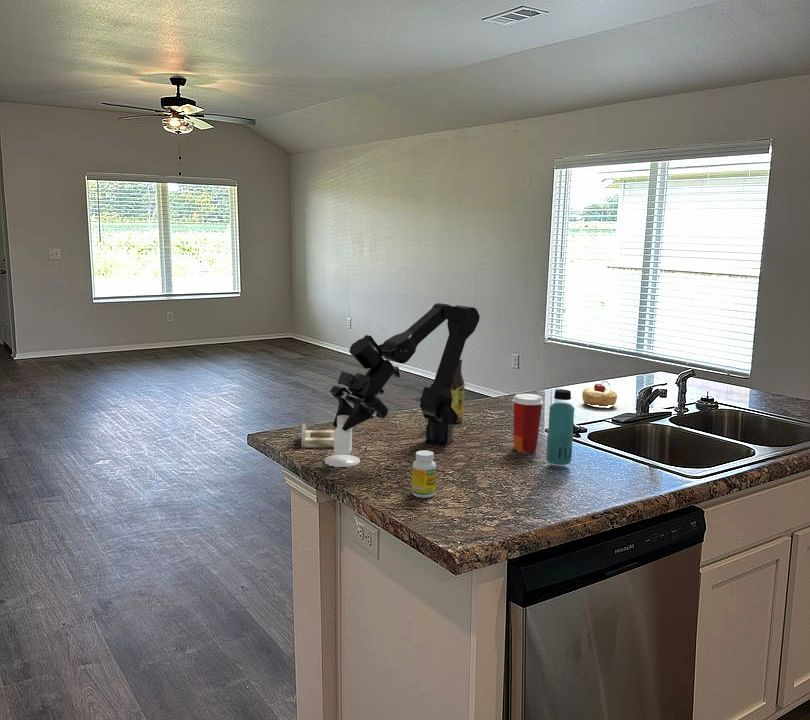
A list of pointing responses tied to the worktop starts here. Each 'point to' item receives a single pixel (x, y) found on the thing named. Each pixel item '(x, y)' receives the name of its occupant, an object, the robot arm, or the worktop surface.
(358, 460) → the coaster
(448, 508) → the worktop surface
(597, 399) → the pastry
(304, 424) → the square wooden frame
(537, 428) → the coffee cup
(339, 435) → the pepper shaker
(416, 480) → the supplement bottle
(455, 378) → the sauce bottle
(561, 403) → the beverage bottle
